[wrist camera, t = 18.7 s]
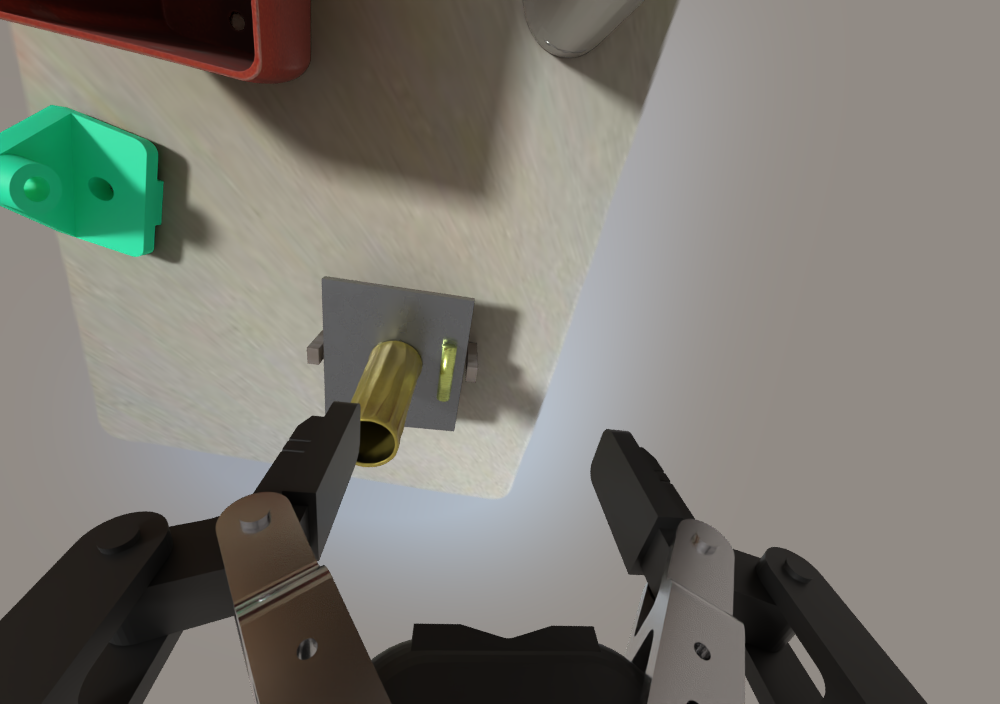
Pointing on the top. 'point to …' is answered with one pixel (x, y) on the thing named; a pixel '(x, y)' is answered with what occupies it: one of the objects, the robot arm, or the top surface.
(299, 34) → the plant pot
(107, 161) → the camera mount
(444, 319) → the tilt plate
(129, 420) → the top surface
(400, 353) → the vase
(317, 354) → the levelling stand
